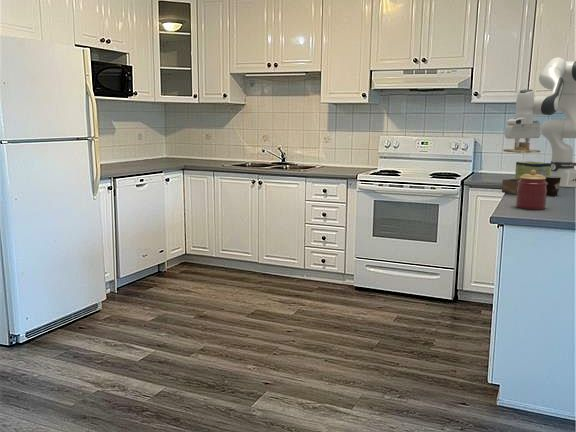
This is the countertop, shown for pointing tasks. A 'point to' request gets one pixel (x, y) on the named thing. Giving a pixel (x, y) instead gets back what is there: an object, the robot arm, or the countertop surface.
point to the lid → (522, 148)
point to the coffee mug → (552, 185)
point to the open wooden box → (510, 186)
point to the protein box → (532, 168)
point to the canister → (531, 191)
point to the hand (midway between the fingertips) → (521, 146)
